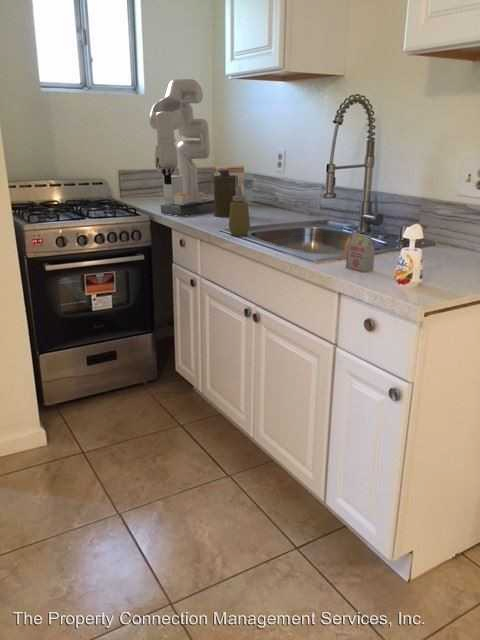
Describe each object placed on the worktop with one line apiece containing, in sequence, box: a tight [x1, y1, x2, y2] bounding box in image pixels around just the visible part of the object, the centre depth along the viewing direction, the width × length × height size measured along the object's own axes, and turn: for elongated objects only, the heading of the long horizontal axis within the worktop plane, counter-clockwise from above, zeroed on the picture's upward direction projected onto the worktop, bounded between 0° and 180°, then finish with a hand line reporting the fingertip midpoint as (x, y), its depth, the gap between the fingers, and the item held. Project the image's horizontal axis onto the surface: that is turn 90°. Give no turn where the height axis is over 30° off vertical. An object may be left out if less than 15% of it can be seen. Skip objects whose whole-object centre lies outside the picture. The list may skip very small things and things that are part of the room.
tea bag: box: [345, 232, 376, 274], centre depth 153 cm, size 4×7×10 cm, turn 36°
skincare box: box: [162, 175, 183, 205], centre depth 274 cm, size 8×7×16 cm
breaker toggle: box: [174, 192, 189, 205], centre depth 255 cm, size 4×6×5 cm
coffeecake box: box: [213, 165, 245, 196], centre depth 280 cm, size 15×7×20 cm, turn 92°
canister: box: [212, 170, 238, 218], centre depth 247 cm, size 11×10×20 cm
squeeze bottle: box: [228, 186, 251, 237], centre depth 201 cm, size 8×8×18 cm
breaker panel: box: [160, 199, 214, 217], centre depth 260 cm, size 24×14×5 cm, turn 137°
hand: (167, 184), depth 247 cm, fingers closed
